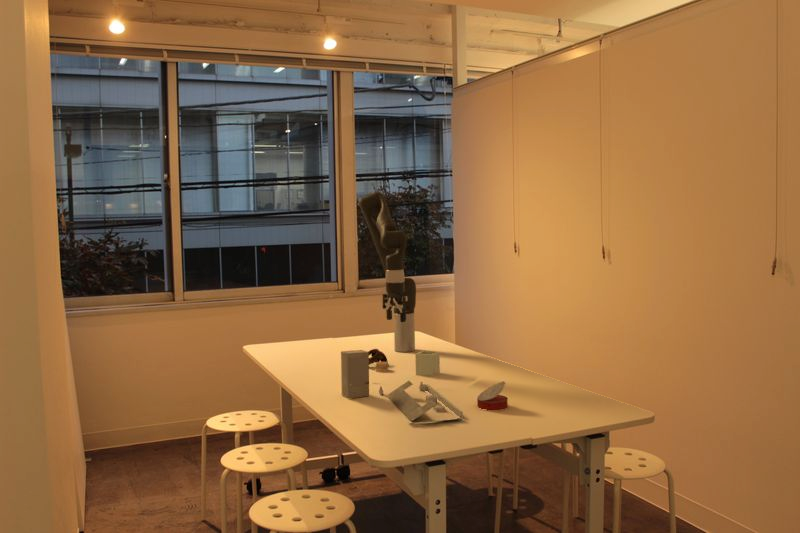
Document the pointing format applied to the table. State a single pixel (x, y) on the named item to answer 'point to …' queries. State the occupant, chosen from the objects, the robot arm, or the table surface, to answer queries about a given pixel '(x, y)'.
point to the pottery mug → (376, 356)
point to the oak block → (381, 366)
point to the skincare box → (355, 373)
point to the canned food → (493, 398)
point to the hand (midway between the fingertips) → (396, 320)
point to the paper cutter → (414, 408)
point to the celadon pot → (427, 363)
